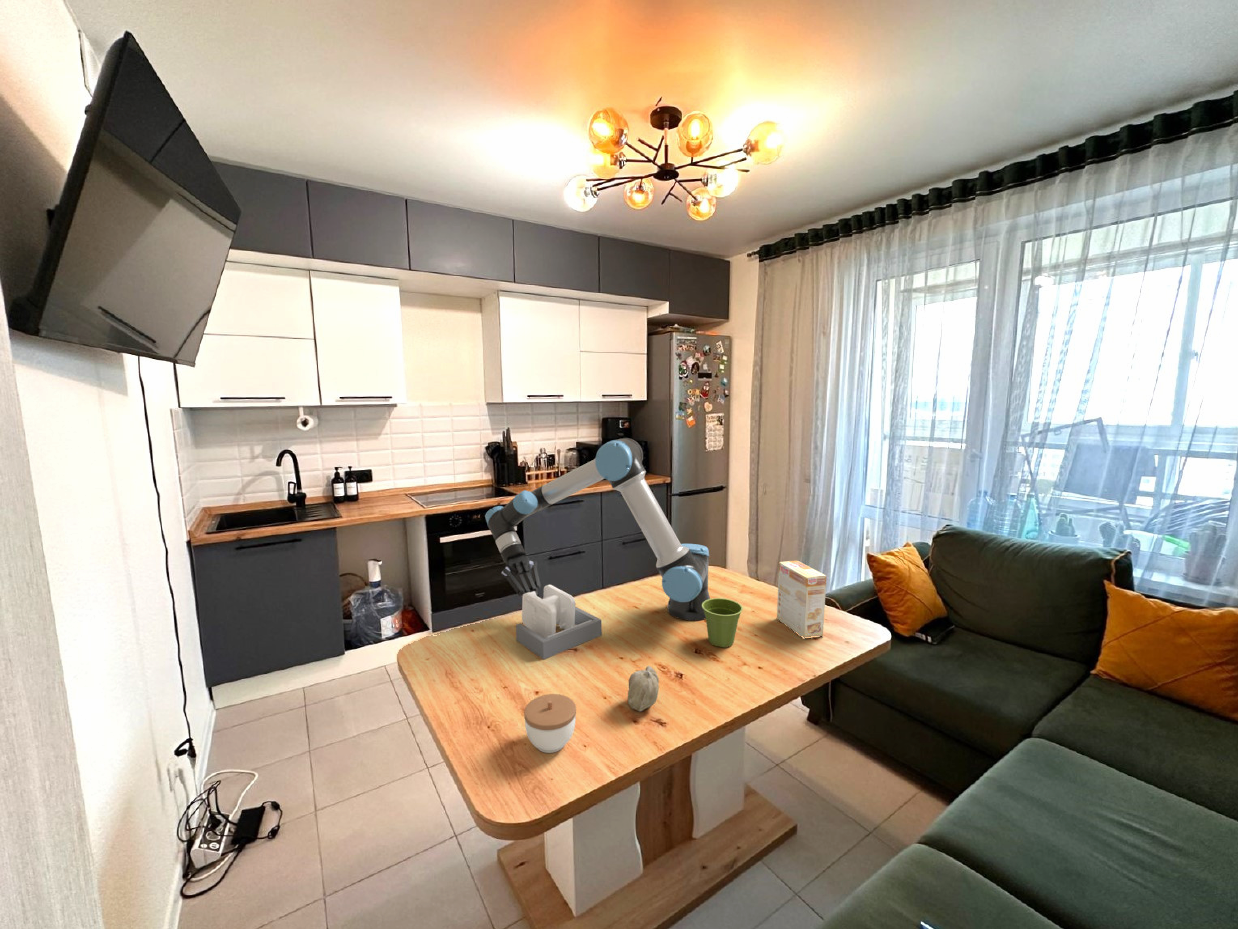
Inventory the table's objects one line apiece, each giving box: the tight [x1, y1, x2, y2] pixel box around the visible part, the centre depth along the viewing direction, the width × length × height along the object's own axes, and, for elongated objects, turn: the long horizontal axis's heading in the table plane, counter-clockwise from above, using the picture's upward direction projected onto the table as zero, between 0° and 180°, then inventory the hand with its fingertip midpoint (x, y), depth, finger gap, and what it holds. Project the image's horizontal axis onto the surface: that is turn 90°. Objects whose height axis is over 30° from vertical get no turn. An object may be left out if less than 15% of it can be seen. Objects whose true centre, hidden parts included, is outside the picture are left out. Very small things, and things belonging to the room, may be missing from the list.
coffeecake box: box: [776, 560, 827, 638], centre depth 154 cm, size 15×7×20 cm, turn 14°
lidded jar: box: [523, 693, 577, 754], centre depth 103 cm, size 11×11×9 cm
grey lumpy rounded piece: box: [627, 665, 660, 712], centre depth 116 cm, size 9×8×10 cm
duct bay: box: [515, 606, 603, 660], centre depth 149 cm, size 14×21×5 cm
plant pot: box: [702, 597, 744, 648], centre depth 146 cm, size 12×12×11 cm
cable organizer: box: [521, 584, 576, 639], centre depth 152 cm, size 15×11×12 cm
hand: (539, 611), depth 156 cm, fingers closed
